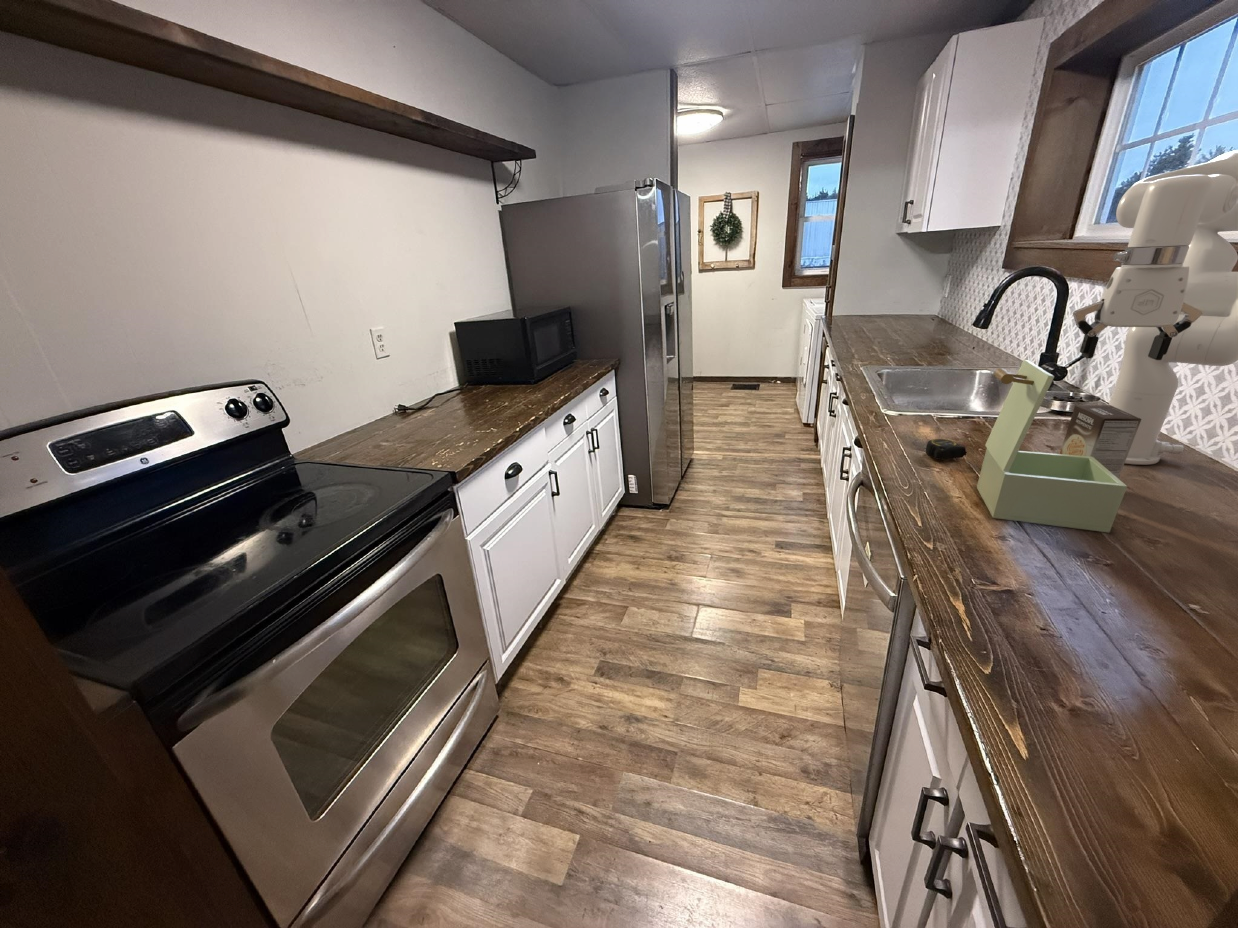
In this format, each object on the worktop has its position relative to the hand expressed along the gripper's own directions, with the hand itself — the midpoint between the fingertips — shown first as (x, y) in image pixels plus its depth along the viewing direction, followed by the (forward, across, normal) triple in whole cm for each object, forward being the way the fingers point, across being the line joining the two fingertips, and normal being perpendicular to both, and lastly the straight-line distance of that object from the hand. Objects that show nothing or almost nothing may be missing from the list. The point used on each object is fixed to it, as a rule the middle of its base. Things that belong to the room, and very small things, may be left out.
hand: (1119, 358), depth 92 cm
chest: (+26, -10, -13) cm, 31 cm away
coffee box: (+27, +1, +1) cm, 27 cm away
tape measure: (+27, -22, +10) cm, 36 cm away
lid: (+8, -17, -13) cm, 23 cm away
